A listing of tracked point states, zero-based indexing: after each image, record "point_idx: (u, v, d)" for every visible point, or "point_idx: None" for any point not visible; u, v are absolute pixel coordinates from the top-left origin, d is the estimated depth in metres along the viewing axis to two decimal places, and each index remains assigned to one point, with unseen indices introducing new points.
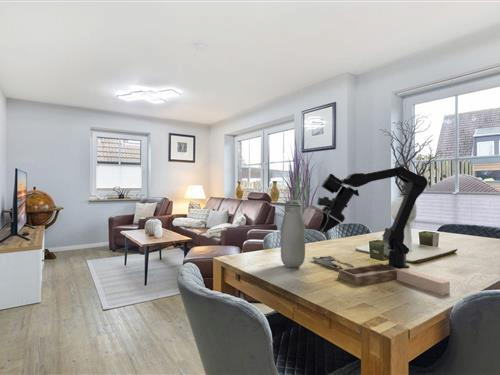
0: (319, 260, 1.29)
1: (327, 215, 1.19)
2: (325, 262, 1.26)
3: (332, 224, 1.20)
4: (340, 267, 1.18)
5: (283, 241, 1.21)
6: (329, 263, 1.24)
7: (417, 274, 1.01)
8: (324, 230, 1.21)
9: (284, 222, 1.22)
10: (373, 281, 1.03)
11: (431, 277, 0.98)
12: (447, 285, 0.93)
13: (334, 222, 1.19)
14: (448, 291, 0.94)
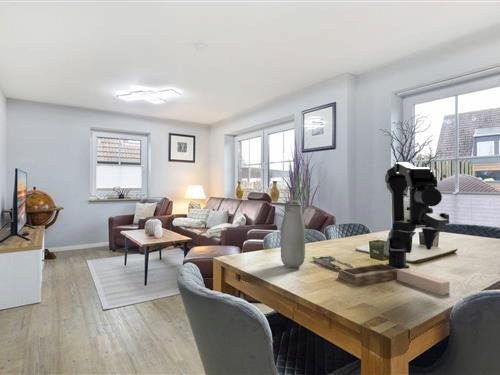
0: (319, 260, 1.29)
1: (440, 231, 1.00)
2: (324, 262, 1.26)
3: None
4: (338, 267, 1.18)
5: (283, 241, 1.21)
6: (328, 263, 1.24)
7: (417, 274, 1.01)
8: None
9: (284, 222, 1.22)
10: (373, 281, 1.03)
11: (431, 277, 0.98)
12: (447, 285, 0.93)
13: None
14: (448, 291, 0.93)
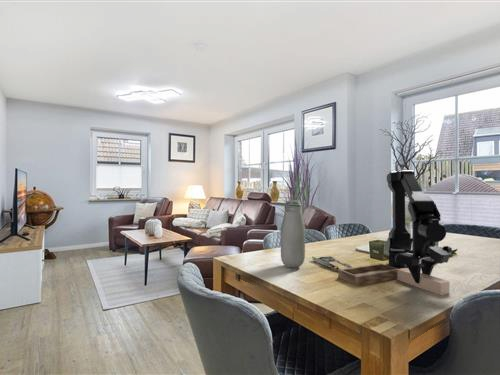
0: (318, 260, 1.29)
1: (437, 263, 0.99)
2: (323, 262, 1.26)
3: None
4: (337, 267, 1.18)
5: (283, 241, 1.21)
6: (327, 263, 1.24)
7: None
8: None
9: (284, 222, 1.22)
10: (373, 281, 1.03)
11: (431, 277, 0.98)
12: (447, 285, 0.93)
13: None
14: (448, 291, 0.93)
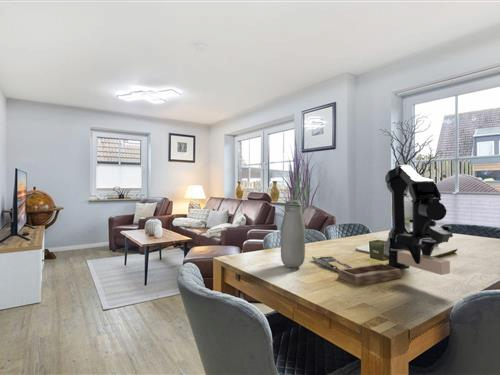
0: (318, 260, 1.29)
1: None
2: (323, 262, 1.26)
3: None
4: (336, 267, 1.18)
5: (283, 241, 1.21)
6: (326, 263, 1.24)
7: None
8: None
9: (284, 222, 1.22)
10: (373, 281, 1.03)
11: (431, 257, 0.97)
12: (447, 264, 0.93)
13: None
14: (448, 270, 0.93)
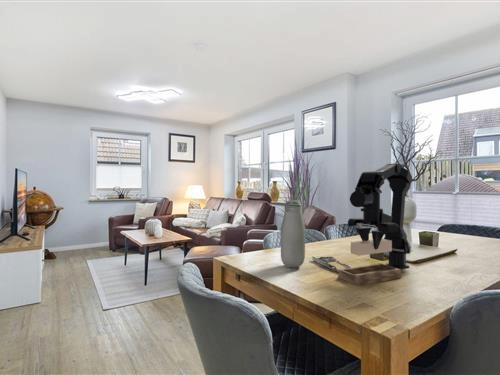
0: (317, 260, 1.29)
1: None
2: (322, 262, 1.26)
3: None
4: None
5: (283, 241, 1.21)
6: (326, 263, 1.24)
7: (370, 241, 1.08)
8: None
9: (284, 222, 1.22)
10: (373, 281, 1.03)
11: None
12: None
13: None
14: None
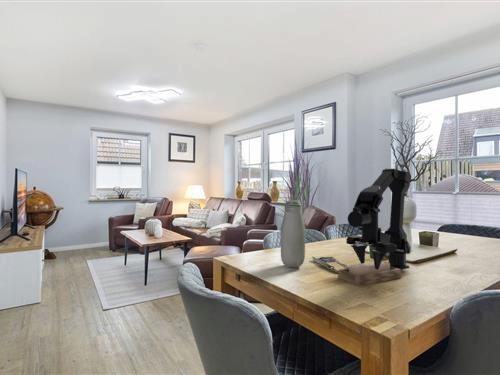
0: (317, 260, 1.29)
1: None
2: (322, 262, 1.26)
3: None
4: (333, 268, 1.17)
5: (283, 241, 1.21)
6: (324, 263, 1.24)
7: (368, 264, 1.08)
8: None
9: (284, 222, 1.22)
10: (373, 281, 1.03)
11: None
12: None
13: None
14: None
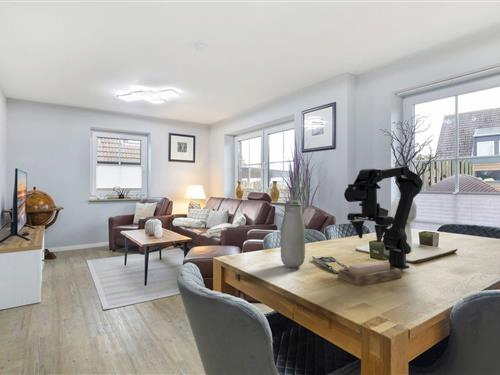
0: (317, 260, 1.29)
1: None
2: (321, 262, 1.26)
3: None
4: (331, 268, 1.17)
5: (283, 241, 1.21)
6: (324, 263, 1.24)
7: (368, 264, 1.08)
8: None
9: (284, 222, 1.22)
10: (373, 281, 1.03)
11: (374, 262, 1.11)
12: None
13: None
14: None
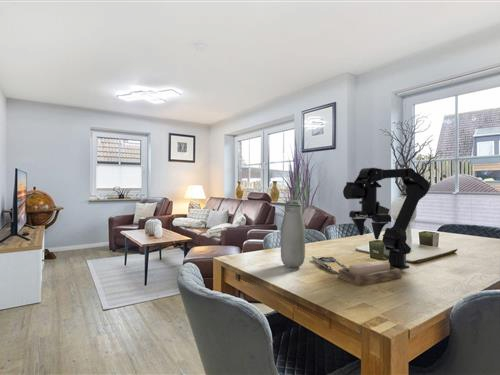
0: (316, 260, 1.30)
1: None
2: (320, 262, 1.26)
3: None
4: (330, 268, 1.17)
5: (283, 241, 1.21)
6: (323, 263, 1.24)
7: (368, 264, 1.08)
8: None
9: (284, 222, 1.22)
10: (373, 281, 1.03)
11: (374, 262, 1.11)
12: None
13: None
14: None
